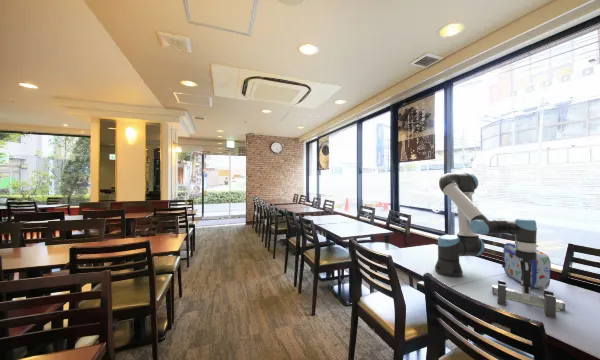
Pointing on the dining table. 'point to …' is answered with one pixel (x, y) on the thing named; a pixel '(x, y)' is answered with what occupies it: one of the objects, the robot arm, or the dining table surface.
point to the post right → (549, 304)
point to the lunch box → (538, 269)
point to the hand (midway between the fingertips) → (525, 296)
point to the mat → (528, 302)
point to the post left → (502, 292)
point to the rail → (533, 297)
